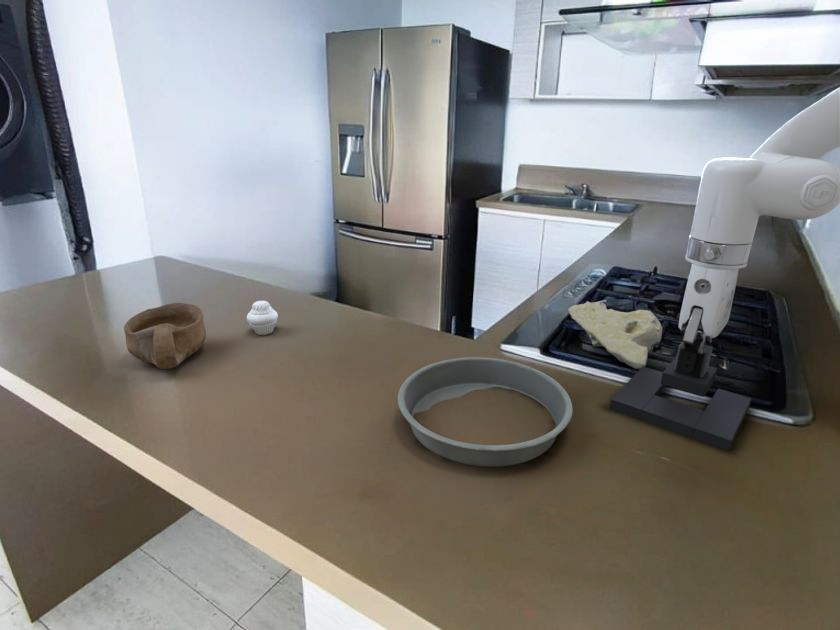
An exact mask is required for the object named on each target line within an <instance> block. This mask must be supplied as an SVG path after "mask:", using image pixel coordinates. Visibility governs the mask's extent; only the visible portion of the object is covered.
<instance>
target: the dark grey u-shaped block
mask: <svg viewBox="0 0 840 630" xmlns="http://www.w3.org/2000/svg"><path fill="white" fill-rule="evenodd" d="M663 372H664V371H659V370H657V369H653V368H650V367H646V366H645V367H642V368H641V369H639V370H638V371H637V372H636V373H635V374H634V375H633V376H632V377H631V378H630V379H629V380H628V381H627V382H626V383H625V384H624V386H622V387H621V389H619V390H618V391H617V393H616V394H615V395H614V396H613V397H612V398H611V399H610V403H609V404H610V405H609V409H610V410H613V411H615V412H618V413H621V414H623V415H626V416H629V417H632V418H635V419H637V420H641V421H643V422H646V423H649V424H651V425H655V426H658V427H660V428H663V429H666V430H668V431H671V432H674V433H677V434H680V435H682V436H685V437H688V438H691V439H694V440H697V441H699V442H702V443H705V444H708V445H710V446H713V447H716V448H719V449H722V450H725V451H727V452H729V451H730V450H731V447H732V445H733V443H734V441H735V439H736V437H737V434H738V432H739V430H740V428H741V426H742V424H743V421H744V420H745V417H746V415H747V413H748V411H749V409H750V406H751V402H752V398H751V397H749V396H746V395H742V394H738V393H735V392H732V391H729V390H724V389H721V388H718V389H717V390H716V391H715V393H714V394H713V397H712V399H711V400H710V401H709V403H708V405H707V406H706V408H705V410H702V409H699V408H695V407H693V406H689V405H687V404H683V403H681V402H677V401H674V400H671V399H669V398H668V399H667V398H664V397H662V396H660V395H661V394H662V393H663V392H664V391H665V390H666V388H667V386H666V385H663V384H661V378H662V373H663Z"/></svg>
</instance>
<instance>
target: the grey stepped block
mask: <svg viewBox="0 0 840 630" xmlns="http://www.w3.org/2000/svg"><path fill="white" fill-rule="evenodd" d="M681 345H682V342H681V343H680V344H679V345H678V348H677V353H676V357H674V358H673V360H672V361H671V362H670V363H669V364H668V365H667V366H666V368H665V369H664V370H663V371H662V372H663V373H662V378H661V384H663V385H666V387H670V388H673V389H676V390H680V391H683V392H686V393H689V394H692V395H695V396H699V397H702V398H705V395H706V394H707V393H708V391H709V389H710V388H711V386H712V385H713V384H714V382H715V381H716V377H717V374H718V367H715V366H711V365H710V362H711V357H712V353H713V349H714V346H712V345H711V346H708V345H705V346H704V350H703V353H705V356H704V360H703V364H702V369H701V373H700V376H699V377H698V378H695V377H691V376H688V375H684V374H681V373H678V372H676V366H677V362H678V357H679V352H680V348H681Z"/></svg>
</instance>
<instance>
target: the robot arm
mask: <svg viewBox="0 0 840 630" xmlns="http://www.w3.org/2000/svg"><path fill="white" fill-rule="evenodd" d="M838 148H840V86H839V87H837V88H836V89H834V90H832V91H831V92H830V93H828V94H826V95H825V96H823V97H822V98H821V99H819V100H818V101H816V102H814V103H813V104H811V105H809V106H808V107H806V108H805V109H803V110H802V111H800V112H799V113H797V114H796V115H794V116H793V117H792V118H790V119H789V120H787V121H786V122H785V123H784V124H783V125H781V126H780V127H779V128H778V129H776V131H774V132H773V133H772V134H771V135H770V136H769V137H768V138H767V139H766V140H765V141H764V142H763V143H762V144H761V145H760V146H759V147H758V148H757V149H756V150H755V151H754V152H753V153H752V154H751V155H750V156H749V158H746V157H718V158H717V157H716V158H713V159H711V160H710V161H708V162H707V163H706V164H705V166H704V168H703V169H702V174H701V179H700V182H699V183H700V184H699V187H698V192H697V193H698V194H697V199H696V204H695V208H694V214H693V218H692V223H691V229H690V234H689V237H688V242H687V247H686V252H685V256H684V257H685V261H686V262H688V263H691V267H690V271H689V275H688V277H687V282H686V286H685V291H684V294H683V299H682V300H683V301H682V304H681V309H680V313H679V319H678V329H679V330H680V331H681V332H683V331H684V333H683V338H682V341H681V343H682V345H681V348H680V352H679V357H678V362H677V366H676V372H678V373H681V374H684V375H688V376H691V377H695V378H698V377H699V376H700V373H701V369H702V364H703V360H704V356H705V353H703V350H704V346H705V345H708V346H712V344H711V343H712V341H713V339H715V338H717V337H718V336H719V335H720V333H722V331H723V330H724V328H725V327H726V326H727V324H728V323H729V320H730V316H731V313H732V312H731V311H732V306H733V301H734V297H735V291H736V287H737V282H738V277H739V270H741V269H744V268H747V267H748V262H749V258H750V254H751V251H752V245H753V240H754V237H755V233H756V229H757V226H758V223H759V218H760V217H761V216H766V217H772V218H773V217H774V218H781V219H788V220H795V221H804V220H813V219H817V218H819V217H822V216H824V215H826V214H828V213H829V212H832V211H833V210H834V209H836V208H837V206H839V204H840V169H839V167H837V166H836V165H834V164H832V163H831V162H828V161H825V160H822V159H821V158H823V157H824V156H825V155H827V154H829V153H831V152H832V151H834V150H836V149H838Z"/></svg>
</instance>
